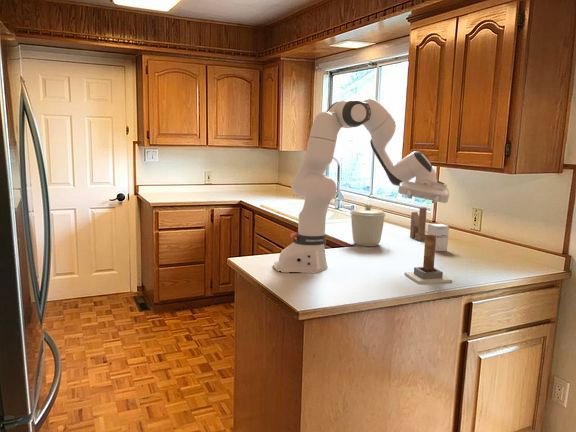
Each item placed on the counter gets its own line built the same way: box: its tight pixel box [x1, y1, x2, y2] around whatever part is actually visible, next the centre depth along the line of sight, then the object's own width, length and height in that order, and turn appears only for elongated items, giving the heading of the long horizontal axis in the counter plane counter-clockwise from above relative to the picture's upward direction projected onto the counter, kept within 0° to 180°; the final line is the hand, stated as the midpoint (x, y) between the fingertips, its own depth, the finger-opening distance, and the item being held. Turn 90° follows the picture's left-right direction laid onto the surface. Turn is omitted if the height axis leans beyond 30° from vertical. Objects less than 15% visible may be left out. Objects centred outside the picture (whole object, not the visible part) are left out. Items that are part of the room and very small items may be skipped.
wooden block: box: [409, 206, 428, 242], centre depth 263 cm, size 4×11×18 cm, turn 16°
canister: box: [349, 203, 387, 247], centre depth 247 cm, size 18×18×21 cm
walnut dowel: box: [422, 234, 436, 272], centre depth 188 cm, size 4×4×16 cm
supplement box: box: [426, 223, 450, 252], centre depth 239 cm, size 7×7×13 cm
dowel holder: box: [404, 266, 453, 285], centre depth 190 cm, size 14×12×4 cm
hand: (422, 199), depth 195 cm, fingers open, 8 cm apart
